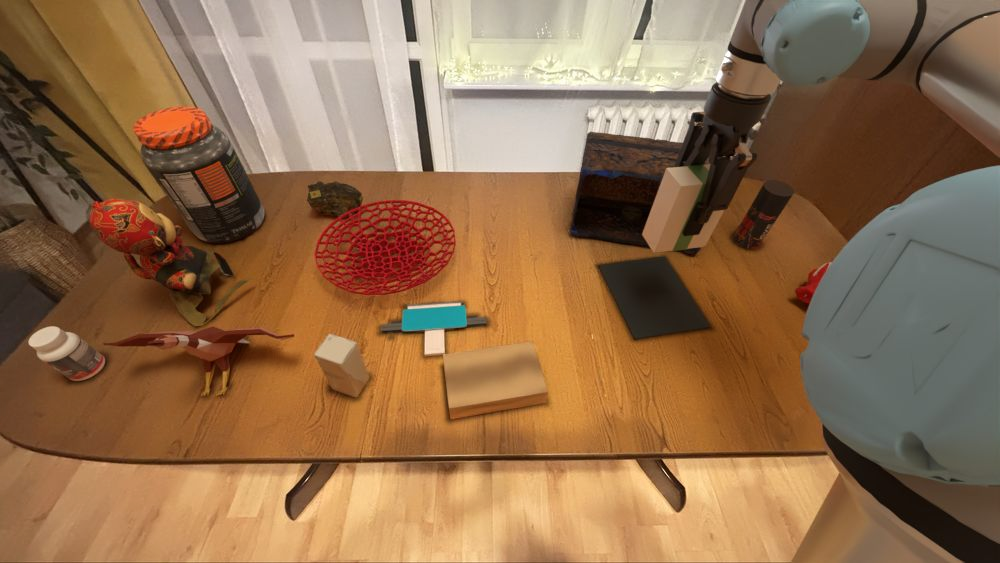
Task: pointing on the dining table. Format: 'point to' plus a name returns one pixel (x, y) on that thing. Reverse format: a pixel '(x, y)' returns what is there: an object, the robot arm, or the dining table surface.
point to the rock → (334, 198)
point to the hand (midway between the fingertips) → (682, 222)
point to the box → (342, 365)
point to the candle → (811, 283)
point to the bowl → (385, 249)
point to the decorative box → (620, 186)
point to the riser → (493, 379)
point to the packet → (678, 210)
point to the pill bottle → (67, 353)
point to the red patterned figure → (160, 253)
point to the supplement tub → (199, 173)
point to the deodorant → (763, 214)
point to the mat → (652, 298)
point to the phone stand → (434, 322)
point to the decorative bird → (201, 346)
